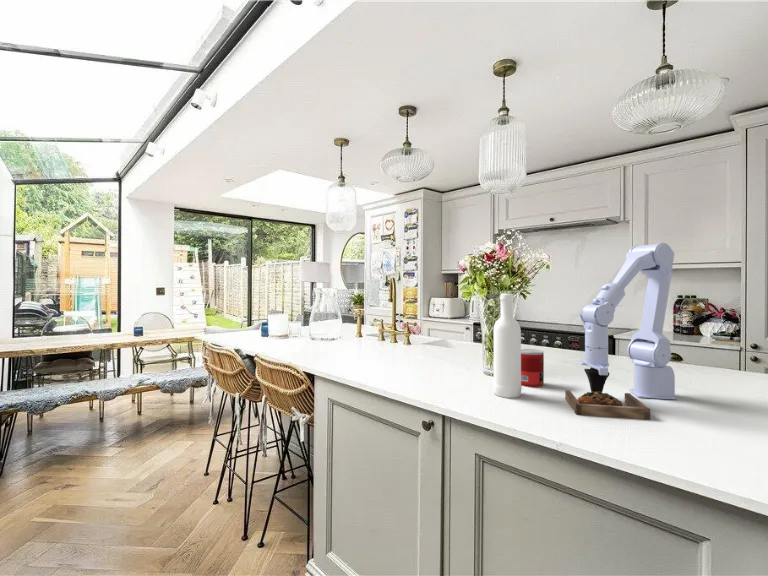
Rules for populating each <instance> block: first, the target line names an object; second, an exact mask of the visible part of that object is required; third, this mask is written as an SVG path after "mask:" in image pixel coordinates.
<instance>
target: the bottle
mask: <svg viewBox="0 0 768 576" xmlns="http://www.w3.org/2000/svg"><path fill="white" fill-rule="evenodd" d="M514 300H515V298H514V294H513V293H501V294H500V298H499V301H500V317H499V318H498V319H497V320H496V321H495V323H494V325H493V395H495V396H497V397H499V398H500V397H501V398H504V399H506V398H507V399H515V398H519V397H521V396H522V385H521V349H522V342H521V341H522V331H521V330H522V329H521V326H520V323H519V322H518V321H517V319H516V318H515V317H514Z"/></svg>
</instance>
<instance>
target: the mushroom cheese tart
mask: <svg viewBox="0 0 768 576" xmlns="http://www.w3.org/2000/svg"><path fill="white" fill-rule="evenodd" d="M577 400H578V401H579V403H580V404H595V405H611V406H623V403H622V401H621V400H620V399H619V398H616V397H615V396H612V395H611V394H609V393H608V392H598V391H597V392H593V391H592V392H591V391H587V392H586V393H583V394H582V395H580V396H579V397H578V398H577Z"/></svg>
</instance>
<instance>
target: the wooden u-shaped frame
mask: <svg viewBox="0 0 768 576" xmlns="http://www.w3.org/2000/svg"><path fill="white" fill-rule="evenodd" d="M564 397H565V398H564V399H565V401H566V402H567V403H568V405H569V407H570V408H571V409H572V410H574V411H573V412H574V413H575V415H577V416H578V415H579V416H593V417H603V418H604V417H605V418H606V417H607V418H619V419H620V418H622V419H635V420H637V419H639V420H648V421H649V420H651V408H649V407H648V406H646V405H645V404H644V403H643V402H641V400H639V399H638V398H636V397H635V396H633V394H631V392H630V393H628V392H625V393H624V403H625V404H626V403H627V404H628V405H627V404H626V405H627V406H626V405H622V406H611V405H595V404H580V403H579V401H578V398H577V397H576V395H574V393H572V391H571V390H570V389H564Z"/></svg>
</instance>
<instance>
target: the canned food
mask: <svg viewBox="0 0 768 576" xmlns="http://www.w3.org/2000/svg"><path fill="white" fill-rule="evenodd" d="M544 354H545V353H544V351H543V350H541V349H534V348H521V386H522V385H523V387H527V386H528V387H529V388H540V386H541V387H543V385H544V383H545V381H544V378H545V377H544V376H545V375H544V374H545V373H544V371H545V369H544V368H545V367H544V365H545V364H544V363H545V361H544V359H545V358H544V357H545V356H544Z"/></svg>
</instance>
